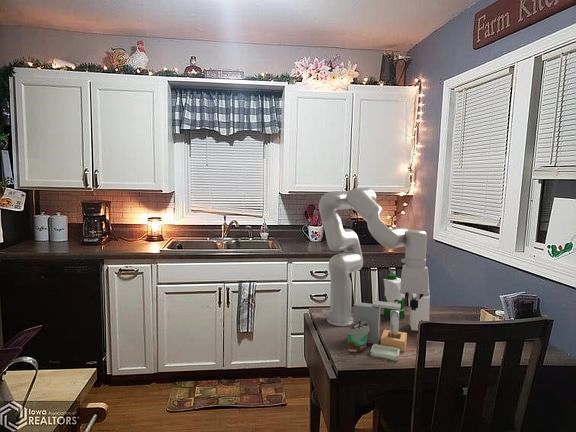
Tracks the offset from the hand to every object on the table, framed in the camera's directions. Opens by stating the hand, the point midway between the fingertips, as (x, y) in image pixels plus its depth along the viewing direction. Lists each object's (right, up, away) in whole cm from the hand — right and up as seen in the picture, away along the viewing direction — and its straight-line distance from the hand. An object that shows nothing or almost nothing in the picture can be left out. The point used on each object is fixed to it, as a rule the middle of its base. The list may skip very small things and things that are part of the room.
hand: (413, 309), depth 149 cm
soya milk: (+2, -12, +35) cm, 38 cm away
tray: (-12, -16, -4) cm, 20 cm away
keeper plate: (-9, 0, +4) cm, 10 cm away
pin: (-6, -15, +4) cm, 17 cm away
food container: (-21, -16, 0) cm, 26 cm away
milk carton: (+9, -14, +22) cm, 27 cm away
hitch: (-12, -15, +7) cm, 20 cm away
